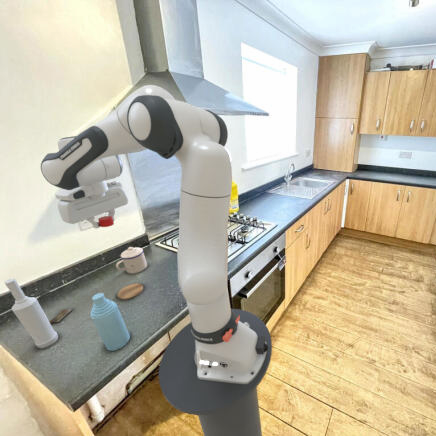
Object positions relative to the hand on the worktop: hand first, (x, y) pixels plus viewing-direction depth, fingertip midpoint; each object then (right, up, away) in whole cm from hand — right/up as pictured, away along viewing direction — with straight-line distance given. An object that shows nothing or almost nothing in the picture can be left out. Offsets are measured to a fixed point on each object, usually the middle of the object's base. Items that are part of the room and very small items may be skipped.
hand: (104, 224), depth 83 cm
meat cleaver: (-19, -35, 0) cm, 40 cm away
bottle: (-13, -39, -7) cm, 41 cm away
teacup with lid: (-8, -23, +28) cm, 37 cm away
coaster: (0, -29, +14) cm, 32 cm away
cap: (+1, +2, -1) cm, 3 cm away
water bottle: (+11, -38, -7) cm, 40 cm away
